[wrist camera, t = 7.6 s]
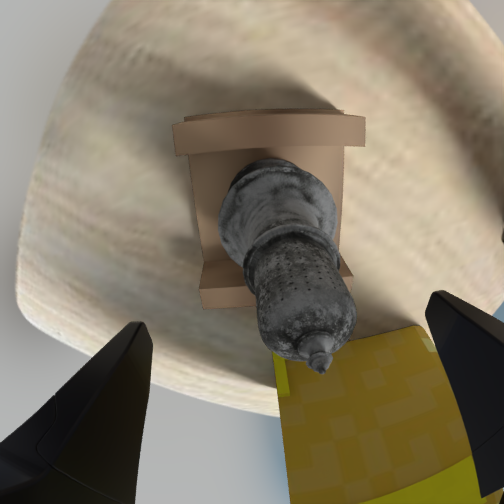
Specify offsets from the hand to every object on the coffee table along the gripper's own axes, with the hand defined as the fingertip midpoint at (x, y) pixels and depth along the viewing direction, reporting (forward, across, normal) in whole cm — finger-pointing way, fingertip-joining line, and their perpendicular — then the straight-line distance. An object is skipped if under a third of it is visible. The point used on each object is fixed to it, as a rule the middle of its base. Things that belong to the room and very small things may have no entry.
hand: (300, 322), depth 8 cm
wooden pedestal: (+11, 0, 0) cm, 11 cm away
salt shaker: (+10, 0, 0) cm, 10 cm away
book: (+11, -9, +17) cm, 22 cm away
